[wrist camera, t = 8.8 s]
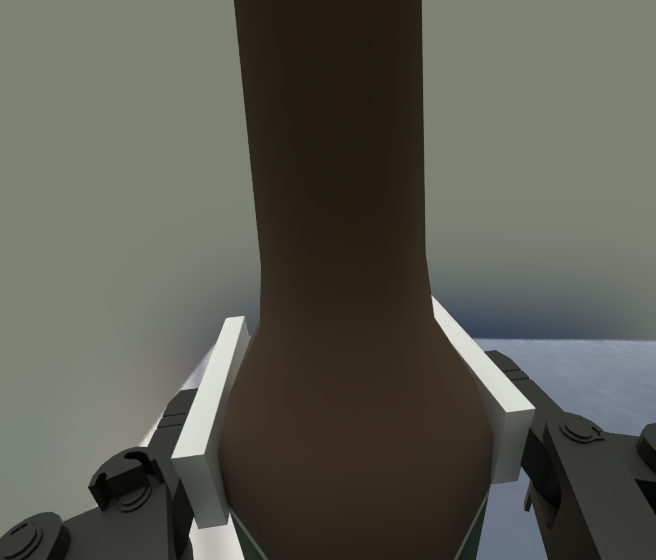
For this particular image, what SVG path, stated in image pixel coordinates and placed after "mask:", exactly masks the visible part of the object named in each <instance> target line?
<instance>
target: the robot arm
mask: <svg viewBox="0 0 656 560" xmlns="http://www.w3.org/2000/svg"><path fill="white" fill-rule="evenodd" d="M431 296H432V295H431ZM432 303H433V310H434V317H435V319H436V320H437V322H438V323H439V325H440V326H441V328H442V329H443V331H444V332H445V334H446V336H447V337H448V339H449V340H450V342H451V343H452V345H453V346H454V348H455V350H456V351H457V353H458V354H459V356H460V357H461V359H462V360H463V362H464V364H465V365H466V367H467V368H468V370H469V371H470V373H471V374H472V376H473V378H474V379H475V381H476V382H477V385H478V388H479V392H480V395H481V398H482V401H483V404H484V407H485V410H486V413H487V417H488V420H489V423H490V426H491V429H492V432H493V435H494V439H493V454H492V470H491V483H492V484H498V483H505V482H511V481H518V477H519V473H520V469H521V466H522V468H523V469H524V471H525V472H526V474H527V475H528V476H529V478H530V483H529V487H528V490H527V494H526V498H525V501H524V511H528V512H529V510H530V506H531V503H532V504H533V508H534V511H535V515H536V518H537V522H538V525H539V529H540V533H541V536H542V540H543V543H544V547H545V550H546V554H547V557H548V560H656V423H653V424H648V425H646V427H645V428H644V429H643V431H642V433H641V435H640V437H638V436H630V435H623V434H615V433H608V432H604V431H603V430H602V428H600V427H599V426H597V425H596V424H595V423H593V422H592V421H590V420H588V419H586V418H584V417H582V416H579V415H576V414H572V413H568V412H564V411H563V410H562V409H561V408H560V407H559V406H558V405H557V404H556V403H555V402H554V401H553V400H552V399H551V398H550V397H549V396H548V395H547V394H546V393H545V392H544V391H543V390H542V389H541V388H540V387H539V386H538V385H537V384H536V383H535V382H534V381H533V380H531V379H529V377H528V376H527V375H526V374H525V373H524V372H523V371H521V370H520V368H519V367H518V366H517V365H516V364H515V363H514V362H513V361H512V360H511V359H510V358H508V357H507V356H505V355H503V354H501V353H500V352H498V351H496V350H493V351H485V352H483V351H482V350H481V349H480V347H479V346H478V345H477V344H476V343H475V342H474V341H473V340H472V339H471V338H470V337H469V335H468V334H467V333H466V332H465V331H464V330H463V329H462V328H461V327H460V326H459V325H458V324H457V322H456V321H455V320H454V319H453V318H452V317H451V316H450V315H449V314H448V313H447V312H446V310H445V309H444V308H443V307H442V306H441V305H440V304H439V303H438V302H437V301H436V300H435V299H434V298H433V296H432ZM248 344H249V336H248V331H247V326H246V321H245V317H244V316H242V317H233V318H226V320H225V323H224V325H223V328H222V331H221V333H220V336H219V338H218V341H217V343H216V346H215V348H214V351H213V353H212V356H211V358H210V361H209V364H208V366H207V369H206V371H205V374H204V376H203V379H202V381H201V384H200V386H199V388H196V389H188V390H181V391H180V392H179V393H178V394H177V395H176V396H175V397H174V398H173V399H172V400H171V401H170V402H169V404H168V406H167V408H166V410H165V412H164V414H163V418H161V420H160V422H159V424H158V426H157V430H155V432H154V434H153V436H152V438H151V440H150V443H149V445H148V447H134V448H130V449H126V450H124V451H122V452H120V453H118V454H116V455H115V456H113V457H111V458H110V459H109V460H108V461H106V462H105V463H104V464H103V465H102V466H101V467H100V468H99V469H98V471H97V472H96V473H95V474H94V475H93V477H92V479H91V481H90V484H89V486H88V488H89V490H90V492H91V493H92V495H93V497H94V499H95V500H96V502H97V504H98V507H96V508H94V509H92V510H90V511H87V512H85V513H82V514H80V515H78V516H75V517H73V518H71V519H69V520H66V521H64V522H63V521H62V519H61V518H60V516H59V515H57V514H55V513H53V512H45V513H39V514H37V515H34V516H32V517H29V518H27V519H25V520H24V521H22V522H21V523H19V524H17V525H16V526H14V527H13V528H11V529H10V530H9V531H8V532H7V533H5V534H4V535H3V536H2V537H1V538H0V560H194V559H193V549H192V544H191V541H190V538H189V532H190V529H191V525H192V521H193V518H194V519H195V521H196V524H197V526H198V529H202V528H209V527H215V526H222V525H227V523H228V517H229V512H230V510H229V506H228V503H227V499H226V495H225V491H224V485H223V480H222V474H221V469H220V463H219V458H218V449H219V444H220V439H221V433H222V428H223V422H224V417H225V411H226V406H227V400H228V397H229V394H230V392H231V389H232V386H233V384H234V381H235V378H236V376H237V373H238V370H239V368H240V365H241V362H242V360H243V357H244V354H245V352H246V349H247V346H248Z"/></svg>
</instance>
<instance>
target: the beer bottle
mask: <svg viewBox="0 0 656 560" xmlns="http://www.w3.org/2000/svg"><path fill="white" fill-rule="evenodd" d="M234 5H235V14H236V15H235V16H236V25H237V35H238V45H239V55H240V64H241V73H242V84H243V94H244V104H245V113H246V123H247V133H248V143H249V153H250V163H251V172H252V182H253V192H254V201H255V211H256V221H257V231H258V241H259V251H260V260H261V297H260V321H259V323H258V325H257V327H256V329H255V331H254V333H253V335H252V337H251V339H250V341H249V344H248V346H247V349H246V352H245V354H244V357H243V360H242V362H241V365H240V368H239V370H238V373H237V376H236V378H235V381H234V384H233V386H232V389H231V392H230V394H229V397H228V400H227V406H226V411H225V417H224V422H223V428H222V433H221V439H220V444H219V449H218V458H219V463H220V469H221V474H222V480H223V485H224V491H225V495H226V499H227V503H228V506H229V510H230V514H231V518H232V521H233V524H234V527H235V530H236V533H237V537H238V540H239V543H240V546H241V549H242V552H243V556H244V559H245V560H476V556H477V551H478V546H479V541H480V536H481V531H482V526H483V521H484V516H485V511H486V506H487V501H488V495H489V490H490V485H491V470H492V454H493V439H494V435H493V432H492V429H491V426H490V423H489V420H488V417H487V413H486V410H485V407H484V404H483V401H482V398H481V395H480V392H479V388H478V385H477V382H476V381H475V379H474V378H473V376H472V374H471V373H470V371H469V370H468V368H467V367H466V365H465V364H464V362H463V360H462V359H461V357H460V356H459V354H458V353H457V351H456V350H455V348H454V346H453V345H452V343H451V342H450V340H449V339H448V337H447V336H446V334H445V332H444V331H443V329H442V328H441V326H440V325H439V323H438V322H437V320H436V319H435V317H434V310H433V303H432V296H431V289H430V282H429V276H428V268H427V261H426V252H425V188H424V127H423V126H424V125H423V64H422V63H423V61H422V60H423V59H422V0H234Z"/></svg>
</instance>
